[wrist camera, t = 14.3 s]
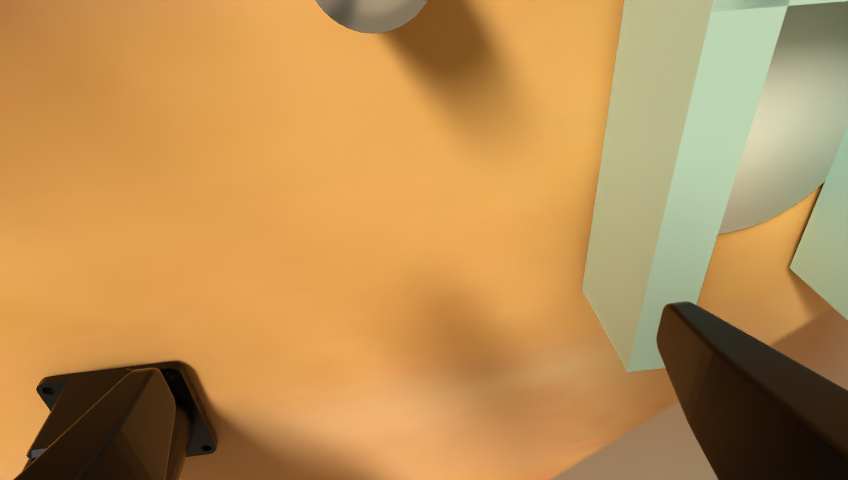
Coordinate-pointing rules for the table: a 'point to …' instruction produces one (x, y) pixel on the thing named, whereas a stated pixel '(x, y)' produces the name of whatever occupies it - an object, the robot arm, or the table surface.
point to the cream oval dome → (794, 117)
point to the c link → (689, 165)
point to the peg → (372, 13)
